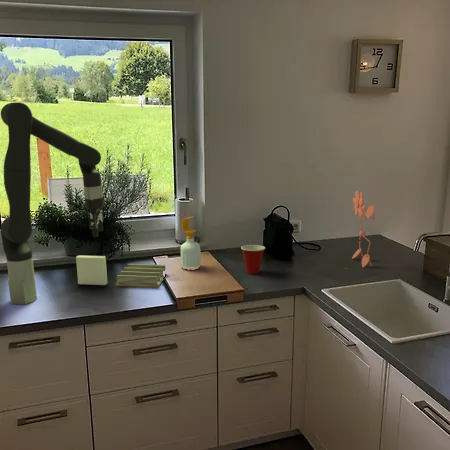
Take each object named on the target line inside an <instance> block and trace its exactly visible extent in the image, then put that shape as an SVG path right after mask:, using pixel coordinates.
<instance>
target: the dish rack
mask: <svg viewBox="0 0 450 450" xmlns="http://www.w3.org/2000/svg"><path fill="white" fill-rule="evenodd" d="M123 269H124V271H123V270H121V271H120V274H117V275H116V278H117V282H116V284H115V286H116V287H132V288H137V287H138V288H156V289H157V288H159V287H160V285H161V284H162V283H163V282H164V280H165V278H164V279H163V271H165V270H166V265H165V264H141V263H139V264H138V263H127V267H124V268H123Z"/></svg>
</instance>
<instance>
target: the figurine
mask: <svg viewBox="0 0 450 450" xmlns="http://www.w3.org/2000/svg"><path fill="white" fill-rule="evenodd" d="M354 196H355V197H353V198H352V203H353V204H354V207H353V208H352V209H351V212H352V211H353V210H354V214H355V216H358V217H359V218H360V219H359V226H360V231H359V233H358V235H359V239H362V238H364V239H365V240H366V241H368V242H369V244H368V248H367V252H366V253H365V254H364V255H363V252H362V248H361V242H358V243H359V244H358V245H359V246H358V247H359V248H358V249H357V250H356V251H355V253H353V255H352V257H351V260H353V259H355V258H357V257H358V256H360V257H362V259H361V266H362V268H364V267H366V266H367V265H368V264H370V267H373V264H372V261H371V260H370V257H371V256H370V254H369V251H370V246H371V243H372V242H371V241H370V240H369V239H368V238H367V237H366V236H365V235H366V233H365V231H364V230H362V229H363V228H362V222H361V221H363V220H364V219H366V218H367V220H369V219H370V218H371V219H372V220H375V206H374V204H371V205H369V206H368V208H367V209H366V205H365V203H364V201H365V200H364V194H363V191H360V193H359V191H358V190H356V191H355V194H354ZM363 212H364V213H363ZM363 214H364V215H365V216H364V217H362V216H363ZM361 237H362V238H361ZM360 254H361V255H360ZM345 269H348V270H349V267H345ZM350 270H351V271H353V269H351V268H350ZM355 271H357V270H356V269H355Z"/></svg>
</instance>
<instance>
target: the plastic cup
mask: <svg viewBox="0 0 450 450" xmlns="http://www.w3.org/2000/svg"><path fill="white" fill-rule="evenodd" d="M240 248H241V250H242V256H243V261H244V266H245V270H246V273H247V274H248V275H257V274H259V273H260V270H261V266H262V261H263V254H264V251H265V249H266V247H265V246H264V245H259V244H246V245H242V246H241V247H240Z"/></svg>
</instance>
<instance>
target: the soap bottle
mask: <svg viewBox="0 0 450 450" xmlns="http://www.w3.org/2000/svg"><path fill="white" fill-rule="evenodd" d="M191 218H195V215H193V216H188V217H186V218H183V219H182V220H181V222H182V223H181V228H182V232H183V233H186V235H188V236H186V241H185V242H184V243H183V244H182V245H180V265H181V264H182V265H183V266H186V267H197V266H199V265H200V264H201V263H202V260H201V259H202V257H201V246H200V244H199V243H197V242H196V241H195V238H194V236H193V234H194V233H196V232H197V230H195V229H190V224H189V223H190V221H189V219H191ZM201 265H202V264H201Z"/></svg>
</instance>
